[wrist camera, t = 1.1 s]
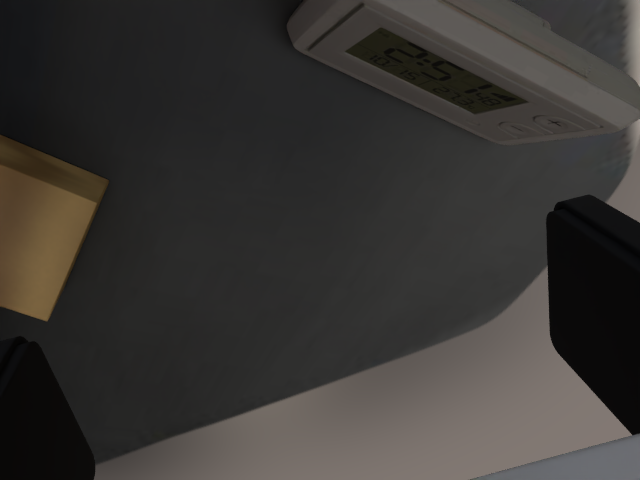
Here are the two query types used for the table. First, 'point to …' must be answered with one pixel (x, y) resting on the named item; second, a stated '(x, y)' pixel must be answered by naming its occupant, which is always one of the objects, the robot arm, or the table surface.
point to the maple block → (41, 225)
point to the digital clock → (471, 65)
